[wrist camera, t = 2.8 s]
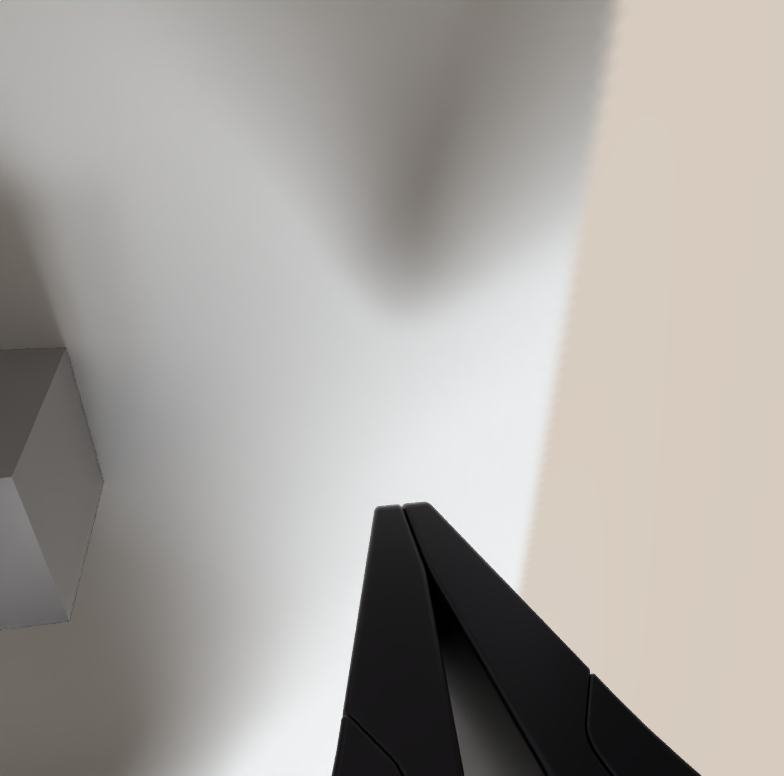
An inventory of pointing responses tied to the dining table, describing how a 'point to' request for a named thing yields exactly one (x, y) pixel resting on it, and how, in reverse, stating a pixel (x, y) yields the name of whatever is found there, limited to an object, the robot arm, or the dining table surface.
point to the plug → (43, 487)
